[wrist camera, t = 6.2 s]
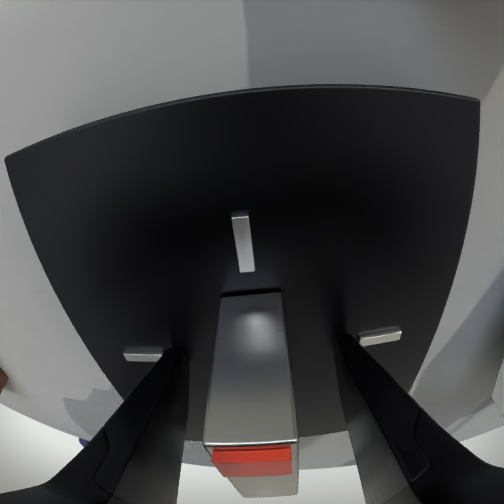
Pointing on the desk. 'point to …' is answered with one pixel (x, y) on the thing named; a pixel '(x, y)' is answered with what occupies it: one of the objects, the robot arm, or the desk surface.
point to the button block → (2, 380)
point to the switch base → (257, 227)
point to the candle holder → (499, 392)
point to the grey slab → (253, 398)
